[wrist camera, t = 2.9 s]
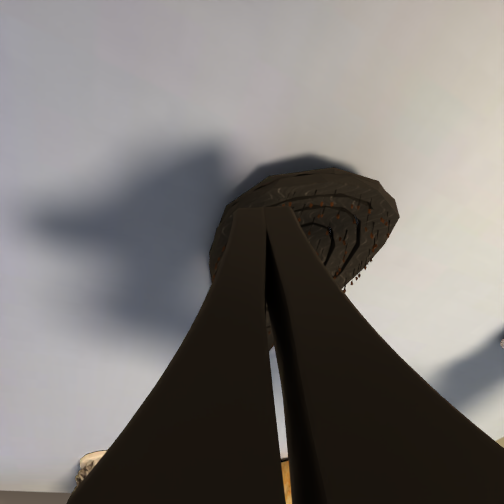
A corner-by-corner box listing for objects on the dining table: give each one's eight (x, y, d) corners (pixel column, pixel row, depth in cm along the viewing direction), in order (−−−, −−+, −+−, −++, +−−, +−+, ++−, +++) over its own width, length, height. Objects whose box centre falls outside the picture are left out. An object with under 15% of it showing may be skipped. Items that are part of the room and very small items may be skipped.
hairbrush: (159, 424, 31) (255, 175, 14) (164, 379, 34) (252, 117, 16) (260, 431, 33) (460, 222, 16) (258, 387, 36) (429, 164, 18)
